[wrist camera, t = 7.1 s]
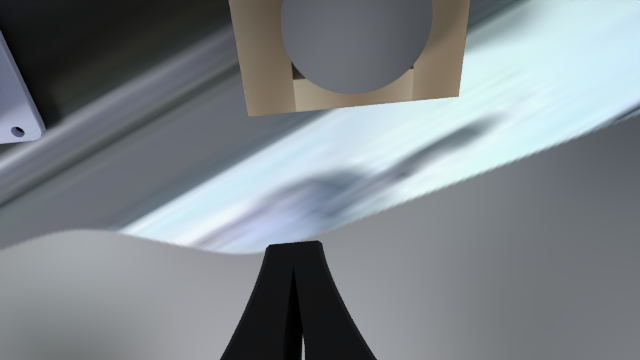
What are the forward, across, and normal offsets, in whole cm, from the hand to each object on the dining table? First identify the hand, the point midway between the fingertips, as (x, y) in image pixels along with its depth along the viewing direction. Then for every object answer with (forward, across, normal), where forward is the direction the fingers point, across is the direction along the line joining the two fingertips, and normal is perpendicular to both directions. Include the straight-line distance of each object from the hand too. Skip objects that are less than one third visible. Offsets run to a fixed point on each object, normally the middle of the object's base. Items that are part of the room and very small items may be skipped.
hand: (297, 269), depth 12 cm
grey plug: (+10, -2, -4) cm, 11 cm away
